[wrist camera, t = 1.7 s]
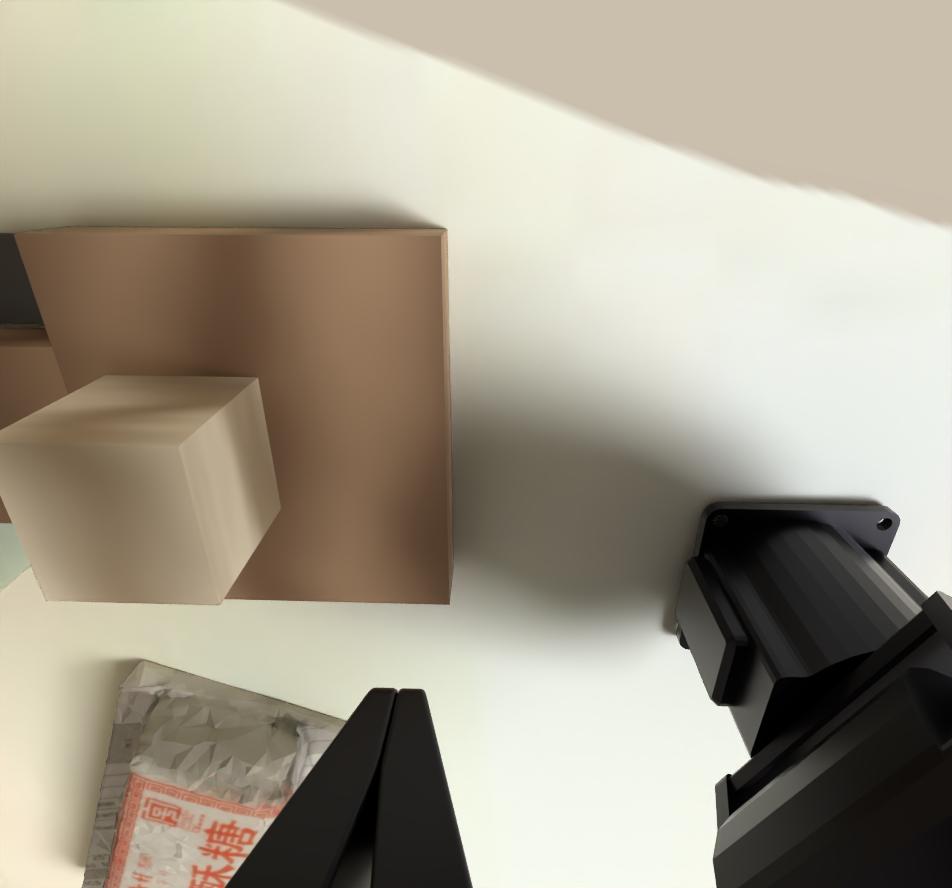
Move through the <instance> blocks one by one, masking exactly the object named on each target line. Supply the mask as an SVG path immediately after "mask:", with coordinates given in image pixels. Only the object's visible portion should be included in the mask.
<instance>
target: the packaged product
mask: <svg viewBox="0 0 952 888" xmlns="http://www.w3.org/2000/svg"><path fill="white" fill-rule="evenodd" d="M119 688H120V691H121V694H120V697H119V700H118V703H117V711H116V715H115V720H114V725H113V731H112V737H111V742H110V747H109V754H108V758H107V761H106V768H105V773H104V778H103V781H102V784H101V789H100V791H101V797H100V800H99V802H98V807H97V813H96V820H95V824H94V829H93V830H94V833H93V836H92V840H91V843H90V848H89V853H88V859H87V863H86V870H85V873H84V881H83V885H82V888H224V887H225V886H226V884H227V883H228V882H229V880H230V879H231V878H232V876H233V875H234V874H235V872H236V871H237V870H238V868H239V867H240V866H241V864H242V863H243V861H244V860H245V859H246V857H247V856H248V855H249V853H250V852H251V851H252V849H253V848H254V847H255V845H256V844H257V842H258V841H259V840H260V838H261V837H262V836H263V834H264V833H265V832H266V830H267V829H268V828H269V826H270V825H271V823H272V822H273V821H274V819H275V818H276V817H277V815H278V814H279V813H280V811H281V810H282V809H283V807H284V806H285V804H286V803H287V802H288V800H289V799H290V798H291V796H292V795H293V794H294V792H295V791H296V790H297V788H298V787H299V785H300V784H301V783H302V781H303V780H304V779H305V777H306V776H307V775H308V773H309V772H310V771H311V769H312V768H313V767H314V765H315V764H316V762H317V761H318V760H319V758H320V757H321V756H322V754H323V753H324V752H325V750H326V749H327V748H328V746H329V745H330V743H331V742H332V741H333V739H334V738H335V737H336V735H337V734H338V733H339V731H340V730H341V729H342V727H343V726H344V724H345V723H346V721H343V720H340V719H337V718H334V717H331V716H328V715H325V714H321V713H318V712H315V711H312V710H308V709H305V708H302V707H299V706H295V705H292V704H289V703H286V702H283V701H279V700H276V699H273V698H270V697H266V696H263V695H260V694H257V693H253V692H249V691H246V690H242V689H238V688H234V687H231V686H228V685H225V684H222V683H219V682H216V681H213V680H210V679H206V678H203V677H199V676H196V675H193V674H189V673H186V672H183V671H179V670H176V669H172V668H169V667H166V666H162V665H159V664H156V663H152V662H149V661H145V660H144V661H140V663H139V664H138V665H137V666H136V667H135V669H134V670H133V671H132V672H131V673H130V675H129V676H128V677H127V678H126V679H125V681H124V682H123V683H122V684H121V685H120V687H119Z"/></svg>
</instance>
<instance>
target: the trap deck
mask: <svg viewBox="0 0 952 888" xmlns="http://www.w3.org/2000/svg"><path fill="white" fill-rule="evenodd" d="M0 323H21V324H44V325H45V328H0V430H2V429H4V428H6V427H8V426H9V425H11V424H13V423H15V422H17V421H19V420H21V419H23V418H25V417H27V416H29V415H30V414H32V413H34V412H36V411H38V410H40V409H42V408H44V407H46V406H48V405H50V404H52V403H53V402H55V401H57V400H59V399H61V398H63V397H65V396H67V395H69V394H71V393H73V392H74V391H76V390H78V389H80V388H82V387H84V386H86V385H88V384H90V383H92V382H94V381H96V380H97V379H99V378H101V377H103V376H105V375H133V376H203V377H258V381H259V386H260V392H261V397H262V403H263V409H264V414H265V420H266V426H267V431H268V437H269V442H270V448H271V454H272V459H273V465H274V471H275V476H276V482H277V487H278V493H279V499H280V504H281V510H280V511H279V513H278V514H277V516H276V518H275V519H274V521H273V522H272V524H271V525H270V527H269V529H268V530H267V532H266V533H265V535H264V536H263V538H262V540H261V541H260V543H259V544H258V546H257V547H256V549H255V551H254V552H253V554H252V555H251V557H250V558H249V560H248V562H247V563H246V565H245V566H244V568H243V569H242V571H241V573H240V574H239V576H238V577H237V579H236V580H235V582H234V584H233V585H232V587H231V588H230V590H229V591H228V593H227V595H226V596H225V598H224V599H247V600H287V601H326V602H366V603H405V604H444V605H449V603H450V594H451V585H452V575H453V522H452V467H451V411H450V355H449V300H448V244H447V229H373V228H226V227H80V226H66V227H59V228H51V229H43V230H35V231H28V232H20V233H0ZM30 566H31V565H30V563H29V560H28V558H27V556H26V554H25V551H24V549H23V547H22V544H21V542H20V540H19V537H18V535H17V533H16V531H15V528H14V526H13V524H12V521H11V519H10V517H9V515H8V512H7V510H6V508H5V505H4V503H3V501H2V498H1V496H0V591H1V590H3V589H4V588H5V587H6V586H7V585H8V584H10V583H11V582H12V581H13V580H14V579H16V578H17V577H18V576H19V575H20V574H21V573H23V572H24V571H25V570H26V569H27V568H29V567H30Z"/></svg>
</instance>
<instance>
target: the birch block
mask: <svg viewBox="0 0 952 888" xmlns="http://www.w3.org/2000/svg"><path fill="white" fill-rule="evenodd" d="M0 496H1V498H2V501H3V503H4V505H5V508H6V510H7V512H8V515H9V517H10V519H11V521H12V524H13V526H14V528H15V531H16V533H17V535H18V537H19V540H20V542H21V544H22V547H23V549H24V551H25V554H26V556H27V558H28V560H29V563H30V565H31V567H32V570H33V572H34V574H35V577H36V579H37V581H38V583H39V586H40V588H41V590H42V593H43V595H44V597H45V600H46V601H77V602H116V603H155V604H194V605H220V604H221V602H222V601H223V599H224V598H225V596H226V595H227V593H228V591H229V590H230V588H231V587H232V585H233V584H234V582H235V580H236V579H237V577H238V576H239V574H240V573H241V571H242V569H243V568H244V566H245V565H246V563H247V562H248V560H249V558H250V557H251V555H252V554H253V552H254V551H255V549H256V547H257V546H258V544H259V543H260V541H261V540H262V538H263V536H264V535H265V533H266V532H267V530H268V529H269V527H270V525H271V524H272V522H273V521H274V519H275V518H276V516H277V514H278V513H279V511H280V510H281V504H280V499H279V493H278V487H277V482H276V476H275V471H274V465H273V459H272V454H271V448H270V442H269V437H268V431H267V426H266V420H265V414H264V409H263V403H262V397H261V392H260V386H259V381H258V377H203V376H133V375H105V376H103V377H101V378H99V379H97V380H96V381H94V382H92V383H90V384H88V385H86V386H84V387H82V388H80V389H78V390H76V391H74V392H73V393H71V394H69V395H67V396H65V397H63V398H61V399H59V400H57V401H55V402H53V403H52V404H50V405H48V406H46V407H44V408H42V409H40V410H38V411H36V412H34V413H32V414H30V415H29V416H27V417H25V418H23V419H21V420H19V421H17V422H15V423H13V424H11V425H9V426H8V427H6V428H4V429H2V430H0Z"/></svg>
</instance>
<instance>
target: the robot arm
mask: <svg viewBox="0 0 952 888" xmlns="http://www.w3.org/2000/svg"><path fill="white" fill-rule="evenodd" d="M718 515H724V516H723V517H722V518H721V519H720V520H716V521H714V518H715V517H716V516H718ZM882 519H884V520H883V521H882V522H880V523H878V522H879V521H880V520H882ZM877 523H878V524H877ZM899 524H900V518H899V516H898V515H897V514H896V513H895V512H893V511H892V510H891V509H890V508H888V507H887V506H878V505H828V504H779V503H729V502H718V503H713V504H711V505H709V506H707V507H706V508H705V509H704V511H703V513H702V517H701V521H700V526H699V530H698V535H697V540H696V544H695V549H694V554H693V556H691V557H690V558H689V559H688V560H687V561H686V563H685V568H684V573H683V578H682V582H681V587H680V592H679V597H678V601H677V606H676V611H675V613H676V616H677V618H678V621H679V623H678V627H677V632H676V633H677V638H678V641H679V643H680V645H681V646H682V647H683V648H685V649H689V650H690V651H691V653H692V655H693V658H694V660H695V663H696V665H697V668H698V670H699V673H700V675H701V678H702V680H703V683H704V685H705V688H706V690H707V692H708V695H709V697H710V699H711V700H712V701H713V702H714V703H715V704H716V705H717V706H728V707H729V709H730V711H731V714H732V716H733V718H734V721H735V723H736V725H737V728H738V730H739V732H740V734H741V737H742V739H743V741H744V744H745V746H746V748H747V751H748V753H749V755H750V758H751V759H750V760H749V761H748V762H747V763H745V764H744V765H743V766H742V767H741V768H740V769H739V770H737V771H736V772H735V773H734V774H733V775H731V774H727V775H726V776H725V777H724V778H722V779H721V780H720V781H719V782H718V783H717V784H716V785H715V793H716V810H717V828H718V832H717V838H716V844H715V850H714V855H713V865H714V872H715V879H716V886H717V888H952V597H950V596H948V595H946V594H944V593H942V592H940V591H936V592H935V593H934V594H933V595H932V596H930V597H929V598H928V597H927V596H926V595H925V594H924V593H923V592H922V591H921V590H920V589H919V588H918V587H917V586H916V585H915V584H914V583H913V582H912V581H911V580H910V579H909V578H908V577H907V576H906V575H905V574H904V573H903V572H902V571H901V570H900V569H899V568H898V567H897V566H896V565H895V564H894V563H893V562H892V561H891V560H890V559H889V558H888V557H887V554H888V552H889V549H890V547H891V544H892V542H893V539H894V537H895V534H896V532H897V530H898V527H899ZM224 888H473V887H472V882H471V878H470V874H469V870H468V866H467V862H466V858H465V854H464V849H463V845H462V841H461V837H460V833H459V829H458V825H457V820H456V816H455V812H454V808H453V804H452V800H451V796H450V791H449V787H448V783H447V779H446V775H445V771H444V767H443V763H442V758H441V754H440V750H439V746H438V742H437V738H436V734H435V729H434V725H433V721H432V717H431V713H430V709H429V705H428V701H427V697H426V693H425V691H424V690H423V689H405V688H403V689H401V690H399V692H398V691H397V690H396V689H394V688H373V689H371V690H370V691H369V692H368V693H367V695H366V696H365V697H364V699H363V700H362V701H361V703H360V704H359V705H358V707H357V708H356V710H355V711H354V712H353V714H352V715H351V716H350V718H349V719H348V720H347V722H346V723H345V724H344V726H343V727H342V729H341V730H340V731H339V733H338V734H337V735H336V737H335V738H334V739H333V741H332V742H331V743H330V745H329V746H328V748H327V749H326V750H325V752H324V753H323V754H322V756H321V757H320V758H319V760H318V761H317V762H316V764H315V765H314V767H313V768H312V769H311V771H310V772H309V773H308V775H307V776H306V777H305V779H304V780H303V781H302V783H301V784H300V785H299V787H298V788H297V790H296V791H295V792H294V794H293V795H292V796H291V798H290V799H289V800H288V802H287V803H286V804H285V806H284V807H283V809H282V810H281V811H280V813H279V814H278V815H277V817H276V818H275V819H274V821H273V822H272V823H271V825H270V826H269V828H268V829H267V830H266V832H265V833H264V834H263V836H262V837H261V838H260V840H259V841H258V842H257V844H256V845H255V847H254V848H253V849H252V851H251V852H250V853H249V855H248V856H247V857H246V859H245V860H244V861H243V863H242V864H241V866H240V867H239V868H238V870H237V871H236V872H235V874H234V875H233V876H232V878H231V879H230V880H229V882H228V883H227V884H226V886H225V887H224Z"/></svg>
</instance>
